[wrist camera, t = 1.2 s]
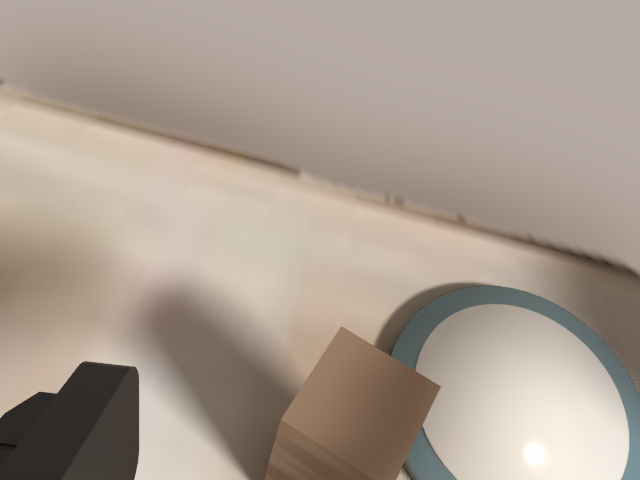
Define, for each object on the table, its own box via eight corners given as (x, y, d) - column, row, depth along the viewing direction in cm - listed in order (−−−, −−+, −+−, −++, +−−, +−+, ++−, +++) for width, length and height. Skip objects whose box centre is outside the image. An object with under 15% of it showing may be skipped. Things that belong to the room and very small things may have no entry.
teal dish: (336, 447, 32) (340, 440, 31) (445, 256, 41) (451, 245, 40) (607, 624, 29) (623, 623, 28) (661, 375, 38) (674, 366, 37)
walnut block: (260, 493, 30) (280, 419, 21) (304, 422, 33) (341, 326, 23) (332, 543, 29) (390, 491, 20) (372, 466, 32) (441, 386, 22)
